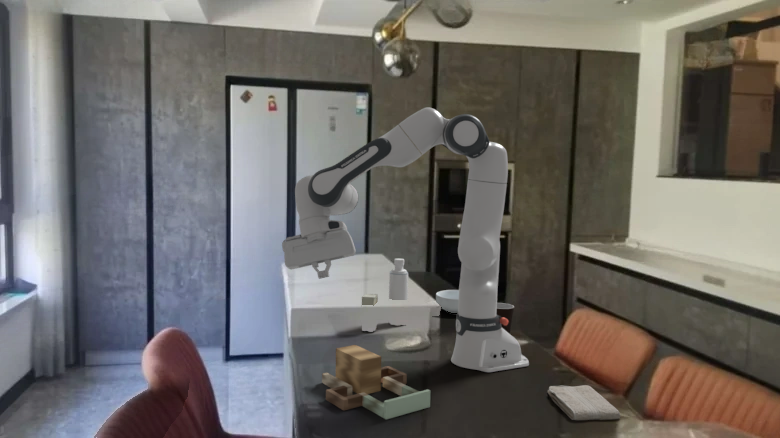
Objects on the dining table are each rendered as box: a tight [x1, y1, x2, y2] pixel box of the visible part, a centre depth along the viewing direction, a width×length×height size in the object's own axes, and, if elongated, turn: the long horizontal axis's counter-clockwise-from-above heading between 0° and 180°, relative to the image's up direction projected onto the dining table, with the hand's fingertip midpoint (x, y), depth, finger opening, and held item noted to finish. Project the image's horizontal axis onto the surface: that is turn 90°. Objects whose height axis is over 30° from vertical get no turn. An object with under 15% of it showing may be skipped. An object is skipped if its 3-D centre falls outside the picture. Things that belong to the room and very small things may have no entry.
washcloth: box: [547, 384, 621, 421], centre depth 152 cm, size 12×18×3 cm, turn 8°
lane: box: [321, 365, 420, 419], centre depth 157 cm, size 27×23×2 cm
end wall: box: [383, 388, 432, 420], centre depth 145 cm, size 1×13×4 cm, turn 127°
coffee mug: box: [496, 302, 515, 335], centre depth 214 cm, size 12×9×10 cm
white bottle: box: [388, 257, 409, 300], centre depth 223 cm, size 7×7×25 cm
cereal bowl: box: [435, 289, 459, 314], centre depth 244 cm, size 17×17×7 cm
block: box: [335, 344, 382, 395], centre depth 161 cm, size 12×6×9 cm, turn 37°
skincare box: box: [361, 293, 379, 306], centre depth 215 cm, size 6×4×12 cm
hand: (323, 277), depth 176 cm, fingers closed
